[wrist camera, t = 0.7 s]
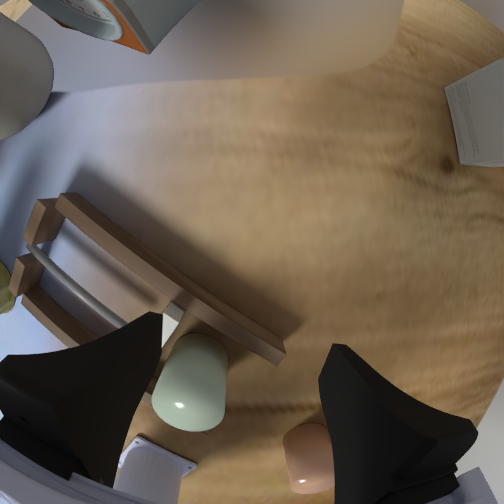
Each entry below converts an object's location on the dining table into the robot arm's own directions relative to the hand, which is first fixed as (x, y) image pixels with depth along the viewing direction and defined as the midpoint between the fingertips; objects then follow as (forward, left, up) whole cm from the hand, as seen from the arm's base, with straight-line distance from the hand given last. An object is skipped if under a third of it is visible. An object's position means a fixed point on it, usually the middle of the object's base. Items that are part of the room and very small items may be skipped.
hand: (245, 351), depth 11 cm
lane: (-8, +5, -11) cm, 14 cm away
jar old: (-8, -1, -11) cm, 13 cm away
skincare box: (+25, -9, -11) cm, 29 cm away
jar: (-11, -16, -11) cm, 22 cm away
